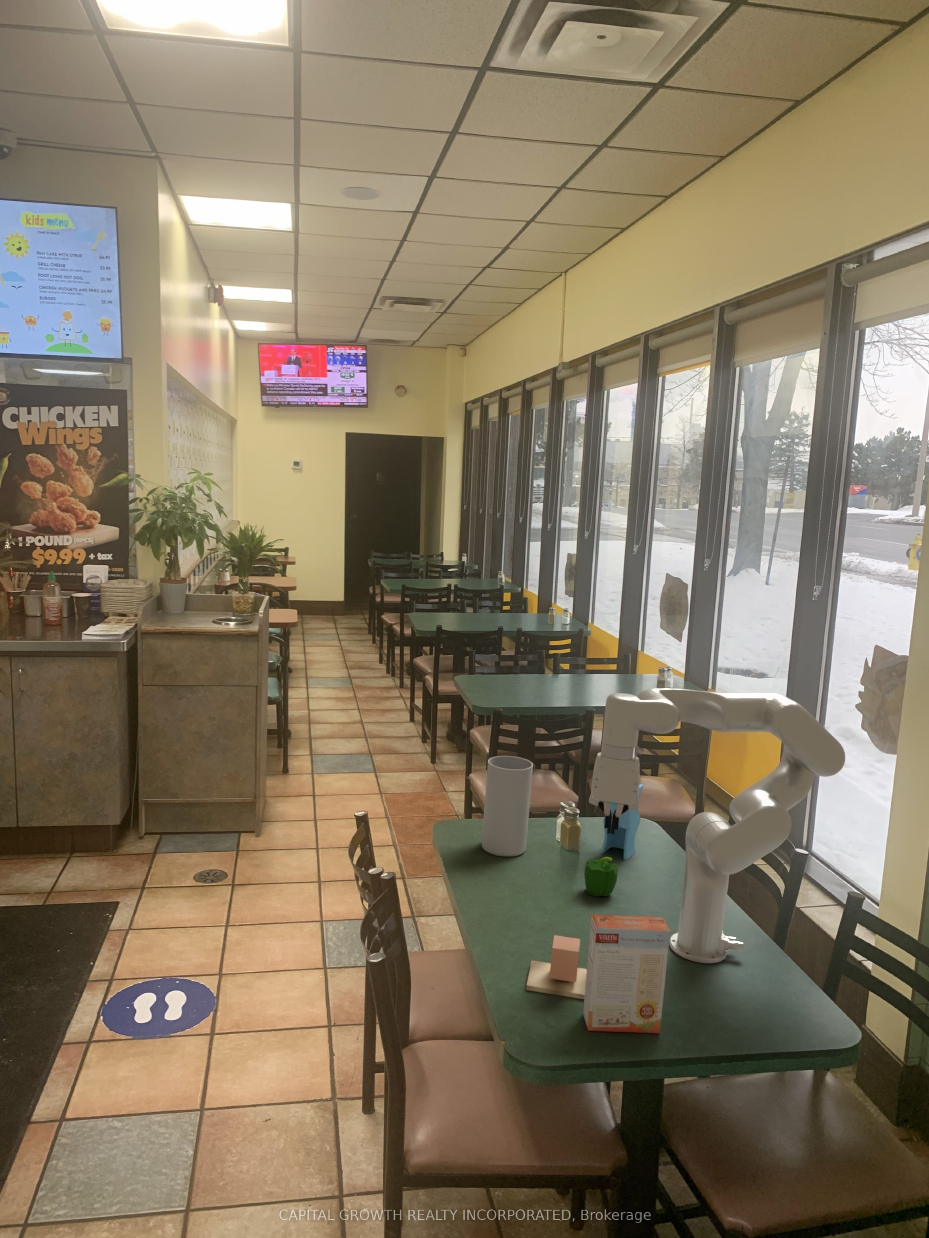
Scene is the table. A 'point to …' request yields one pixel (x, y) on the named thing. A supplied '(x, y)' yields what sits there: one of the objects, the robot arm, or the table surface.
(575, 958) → the pale pink upright block
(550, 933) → the table surface
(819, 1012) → the table surface
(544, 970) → the post
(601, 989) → the cracker box
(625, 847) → the light blue tall piece
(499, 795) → the cylinder vase
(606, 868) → the bell pepper
